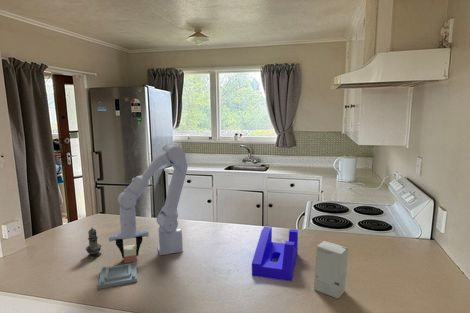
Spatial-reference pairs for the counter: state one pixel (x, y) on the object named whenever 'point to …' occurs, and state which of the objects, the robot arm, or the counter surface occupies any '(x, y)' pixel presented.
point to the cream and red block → (130, 253)
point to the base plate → (118, 275)
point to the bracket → (275, 256)
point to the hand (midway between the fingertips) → (130, 256)
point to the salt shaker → (93, 245)
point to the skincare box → (331, 269)
